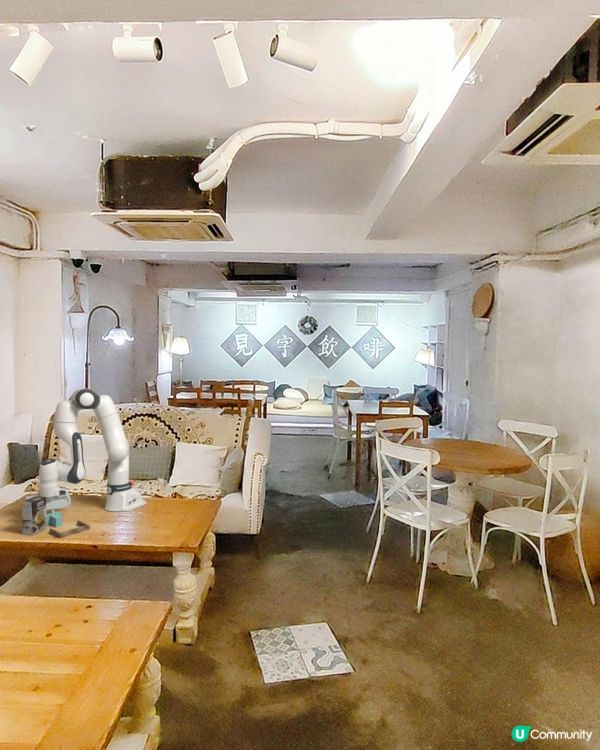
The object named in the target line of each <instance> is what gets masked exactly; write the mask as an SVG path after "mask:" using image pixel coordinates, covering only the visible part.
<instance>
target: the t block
mask: <svg viewBox="0 0 600 750" xmlns="http://www.w3.org/2000/svg"><path fill="white" fill-rule="evenodd" d="M49 525H51V526H52V527H54V528H58V527H62V526H63V512H62V511H61V510H60V511H55V512H54V513H51V512H50V513H46V526H49Z"/></svg>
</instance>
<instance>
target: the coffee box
mask: <svg viewBox="0 0 600 750" xmlns="http://www.w3.org/2000/svg"><path fill="white" fill-rule="evenodd" d="M21 502H22V507H21V508H22V509H21V510H22V517H21V518H22V528H21V530H22V531H21V533H22V535H27V536H35V535H37V534H39V533H41V532H43V531H45V530H47V525H46V514H47V513H46V497H42V496H34V497H32V498H29V499H27V500H26V499H25V500H22V501H21Z"/></svg>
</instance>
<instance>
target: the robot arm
mask: <svg viewBox="0 0 600 750" xmlns="http://www.w3.org/2000/svg"><path fill="white" fill-rule="evenodd" d="M55 407H56V408H55V411H54V417H53V426H52V427H53V433H54V435H55V436H56V437H57V438H58V439H60V440H61V441H64V442H65V443H67V445H68V446H69V448H70V456H71V458H70V460H71V462H64V461H60V460H57V459H56V458H46V459H44V460H42V461H41V462H40V464H39V469H38V481H39V485H38V492H35V493H29V494H28V495H26V496H25V500H27V499H29V498H32V497H34V496H42V497H46V514H48V513H47V512H48V511H51V512H50V513H54V512H56V510H60V509H66V508H70V507H71V505H72V502H71V501H72V499H71V496H70V494H69V490H68V488H67V487H66V486H60V485H59V482H62V483H63V482H64V483H69V484H73V485H78V484H79V483H81V482H82V481H83V480H84V479H85V477H86V473H87V472H86V467H85V466H86V465H85V461H84V448H83V447H84V446H83V439H82V435H81V434H80V433H79V429H78V414H79V412H80V411H81V410H93V412H94V414H95V417H96V420H97V423H98V425H99V428H100V431H101V436H102V439H103V442H104V445H105V448H106V452H107V455H108V456H107V457H108V458H107V459H108V460H107V483H106V493H107V494H106V502H105V506H104V510H105V511H109V512H129V511H132V510H135V509H137V508H140V507H142V506H145V505H147V501H146V500H144V499H143V497H142V496H143V494H141V492H140V491H138V489H136V488H134V486H135V485H136V481H130V442H129V440H128V439H127V437H126V434H125V430H124V428H123V424H122V421H121V419H120V415H119V411H118V409H117V406H116V405H115V403H114V401H113V399H112V398H111V396H109V395H106V394H101V395H98V394H97V393H96V392H95V391H93V390H92V389H89V388H86V387H82V388H79V389H76V390H75V391H74V392H73V393H72V395H71V396H70V397H69V399H68V400H62V401H59V402H58V403H57V405H56V406H55Z"/></svg>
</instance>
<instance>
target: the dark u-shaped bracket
mask: <svg viewBox="0 0 600 750" xmlns="http://www.w3.org/2000/svg"><path fill="white" fill-rule="evenodd" d="M76 524H77V526H78V527H75V528H70V529H69V530H65V531H62V532H60V531H58V530H56V529H53V528H49V529H48V531H49V534H51V535H52V536H54V537H56V538H58V539H62V538H65V537H70V536H72V535H76V534H78V533H79V534H80V533H81V532H85V531H88V530H91V525H90V524H88V523H85V522H83V521H81V520H77V521H76Z"/></svg>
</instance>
